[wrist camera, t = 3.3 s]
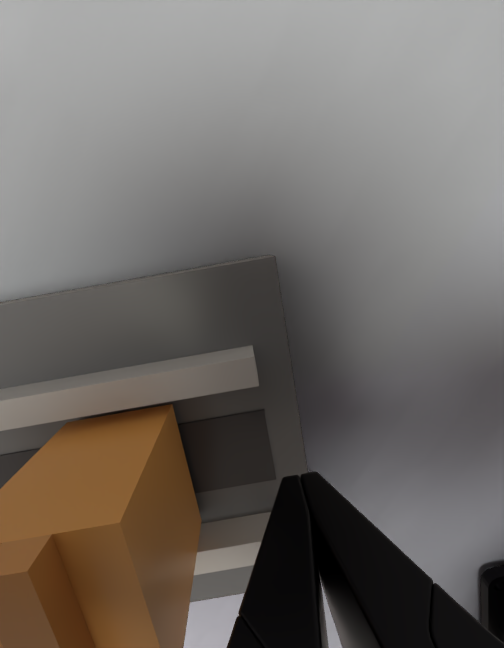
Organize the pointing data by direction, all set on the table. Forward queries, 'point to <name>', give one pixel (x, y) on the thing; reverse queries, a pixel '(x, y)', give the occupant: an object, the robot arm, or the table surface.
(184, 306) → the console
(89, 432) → the fader cap
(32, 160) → the table surface
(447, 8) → the table surface
